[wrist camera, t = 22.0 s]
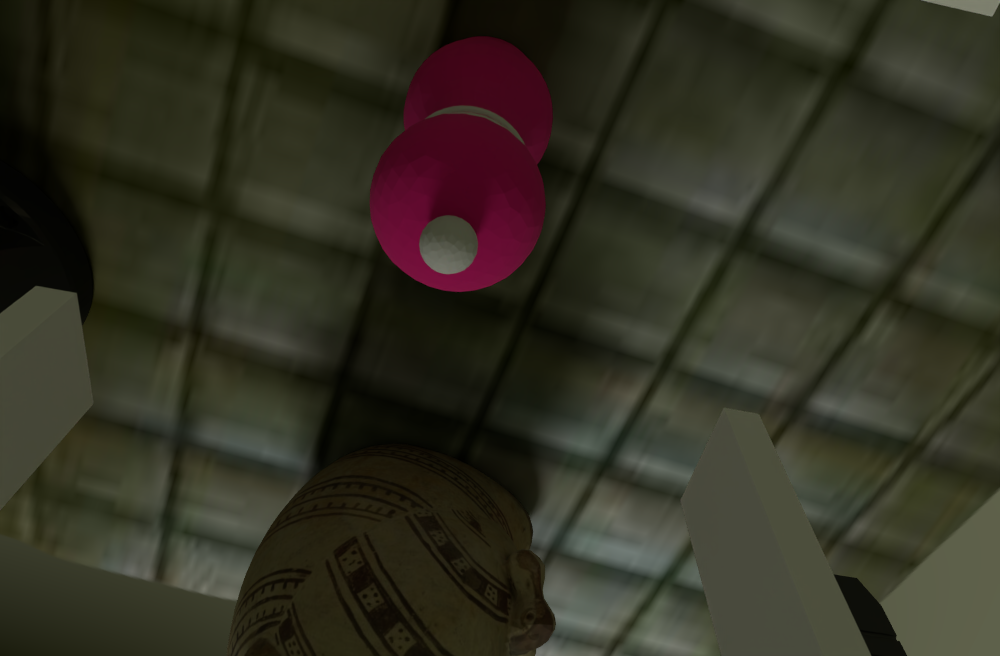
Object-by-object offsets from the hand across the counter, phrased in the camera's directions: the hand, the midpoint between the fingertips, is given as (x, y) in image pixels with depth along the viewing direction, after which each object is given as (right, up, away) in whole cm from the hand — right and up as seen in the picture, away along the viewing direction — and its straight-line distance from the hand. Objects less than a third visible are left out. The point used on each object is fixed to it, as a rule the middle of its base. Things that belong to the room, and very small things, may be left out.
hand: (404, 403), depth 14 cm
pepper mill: (+1, +14, +23) cm, 27 cm away
